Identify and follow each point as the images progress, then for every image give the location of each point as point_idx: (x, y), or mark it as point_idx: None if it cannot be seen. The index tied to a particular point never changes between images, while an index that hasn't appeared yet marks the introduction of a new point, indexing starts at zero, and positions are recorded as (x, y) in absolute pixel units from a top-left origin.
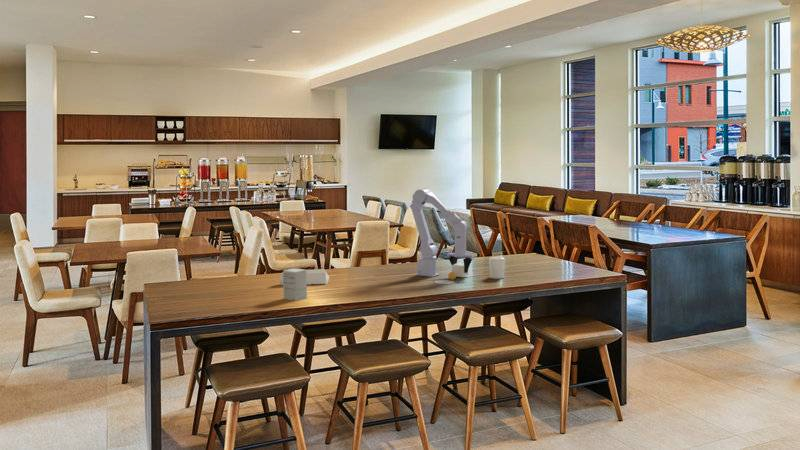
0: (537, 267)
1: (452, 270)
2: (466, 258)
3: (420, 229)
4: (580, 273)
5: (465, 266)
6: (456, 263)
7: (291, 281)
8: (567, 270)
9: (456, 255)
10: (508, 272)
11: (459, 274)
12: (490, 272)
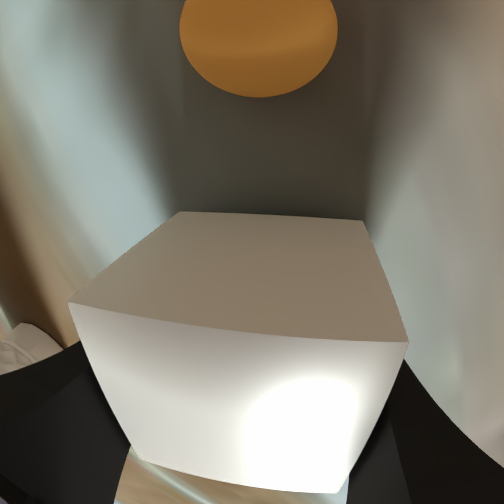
0: (137, 501)
1: (372, 263)
2: (9, 486)
3: None
4: None
5: (78, 350)
6: (346, 476)
7: None
8: None
9: None
10: (128, 463)
11: (216, 224)
12: (29, 363)
